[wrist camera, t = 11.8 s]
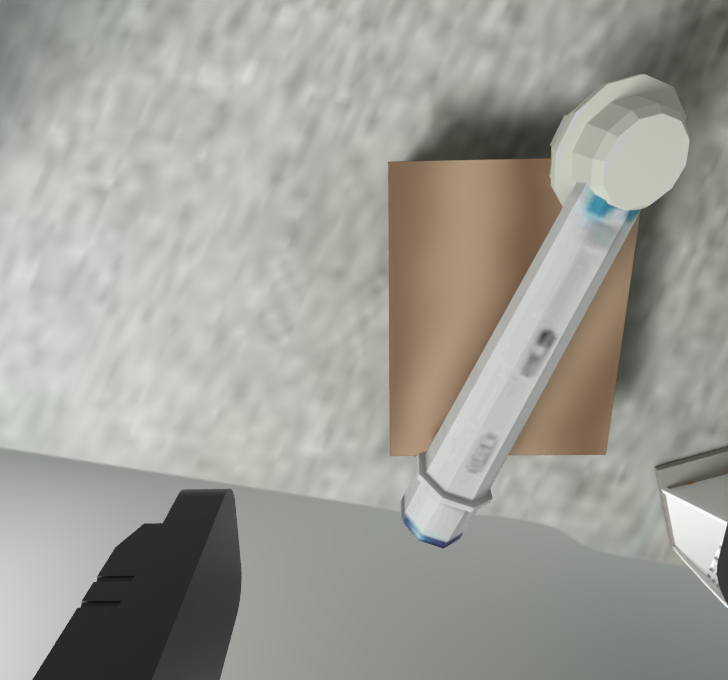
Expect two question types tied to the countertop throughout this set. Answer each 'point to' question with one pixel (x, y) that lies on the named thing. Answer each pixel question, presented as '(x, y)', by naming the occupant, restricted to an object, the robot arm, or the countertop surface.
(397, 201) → the stand
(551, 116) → the countertop surface
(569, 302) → the white handheld device
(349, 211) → the countertop surface
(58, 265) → the countertop surface
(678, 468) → the skyscraper
